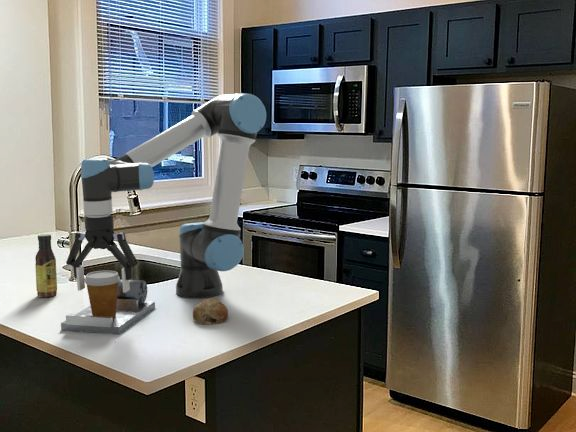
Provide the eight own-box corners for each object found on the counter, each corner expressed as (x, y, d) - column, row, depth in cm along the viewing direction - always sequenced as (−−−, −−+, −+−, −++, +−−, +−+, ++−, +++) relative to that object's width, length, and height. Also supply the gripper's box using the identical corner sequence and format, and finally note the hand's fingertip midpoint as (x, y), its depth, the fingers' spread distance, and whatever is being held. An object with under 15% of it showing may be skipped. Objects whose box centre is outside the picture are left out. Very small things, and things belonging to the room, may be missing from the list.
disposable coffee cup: (119, 309, 189) (117, 268, 187) (123, 318, 180) (121, 276, 178) (85, 312, 185) (83, 271, 183) (87, 322, 177) (85, 280, 175)
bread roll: (194, 337, 182) (195, 315, 178) (189, 312, 190) (190, 291, 186) (229, 333, 185) (231, 312, 180) (223, 309, 193) (225, 288, 188)
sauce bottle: (50, 298, 207) (46, 237, 203) (33, 297, 208) (28, 236, 205) (61, 293, 213) (58, 233, 210) (44, 292, 214) (40, 232, 211)
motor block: (155, 307, 197) (154, 278, 196) (118, 335, 173) (116, 302, 171) (103, 304, 201) (102, 275, 199) (59, 331, 176) (57, 298, 175)
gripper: (146, 213, 179) (151, 288, 183) (64, 212, 184) (69, 284, 188) (135, 218, 172) (139, 295, 176) (49, 216, 177) (55, 292, 180)
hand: (103, 290), depth 182 cm, fingers open, 13 cm apart
